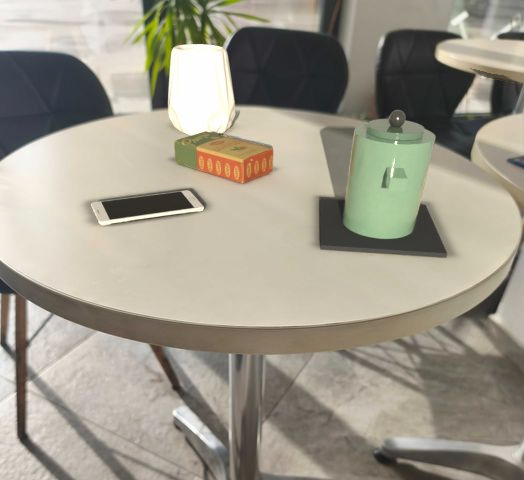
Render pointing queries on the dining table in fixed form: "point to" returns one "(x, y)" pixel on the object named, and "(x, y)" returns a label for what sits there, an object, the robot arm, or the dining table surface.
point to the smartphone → (146, 207)
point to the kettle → (387, 177)
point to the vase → (200, 89)
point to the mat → (343, 239)
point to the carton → (224, 156)
